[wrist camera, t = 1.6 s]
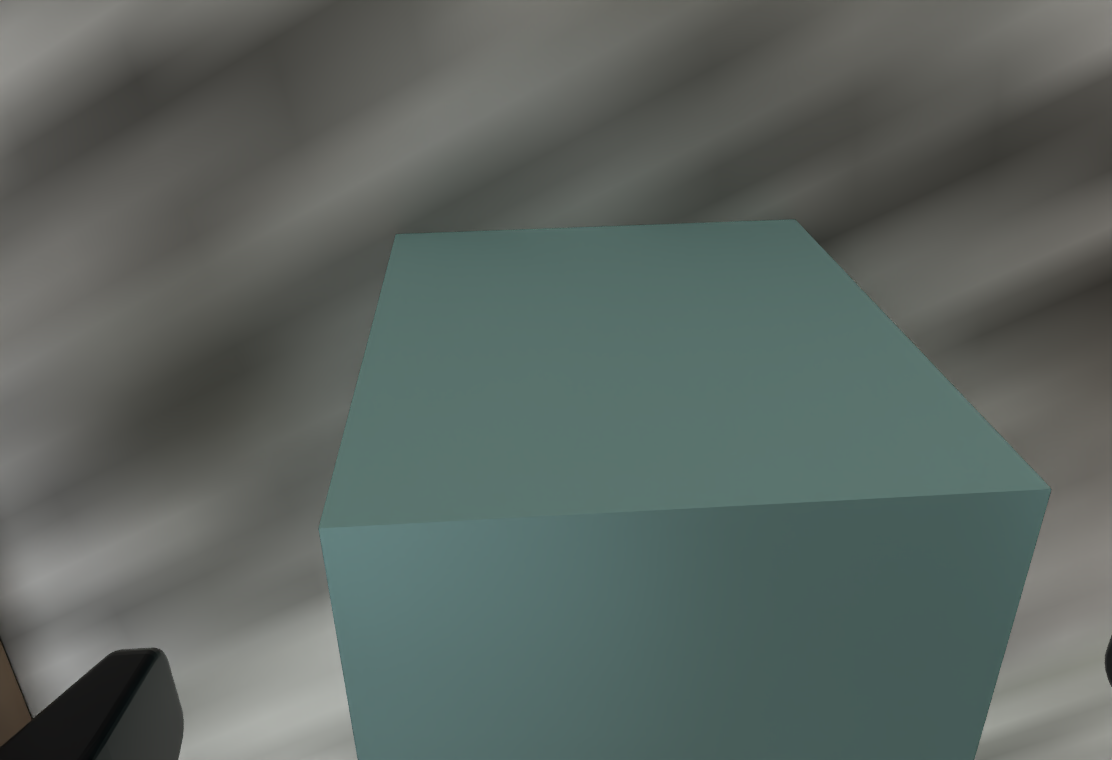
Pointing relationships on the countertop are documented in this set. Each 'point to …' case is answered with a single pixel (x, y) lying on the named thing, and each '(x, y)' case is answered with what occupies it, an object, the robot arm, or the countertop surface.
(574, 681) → the teal block
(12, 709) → the puzzle board
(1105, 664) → the robot arm
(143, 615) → the countertop surface
